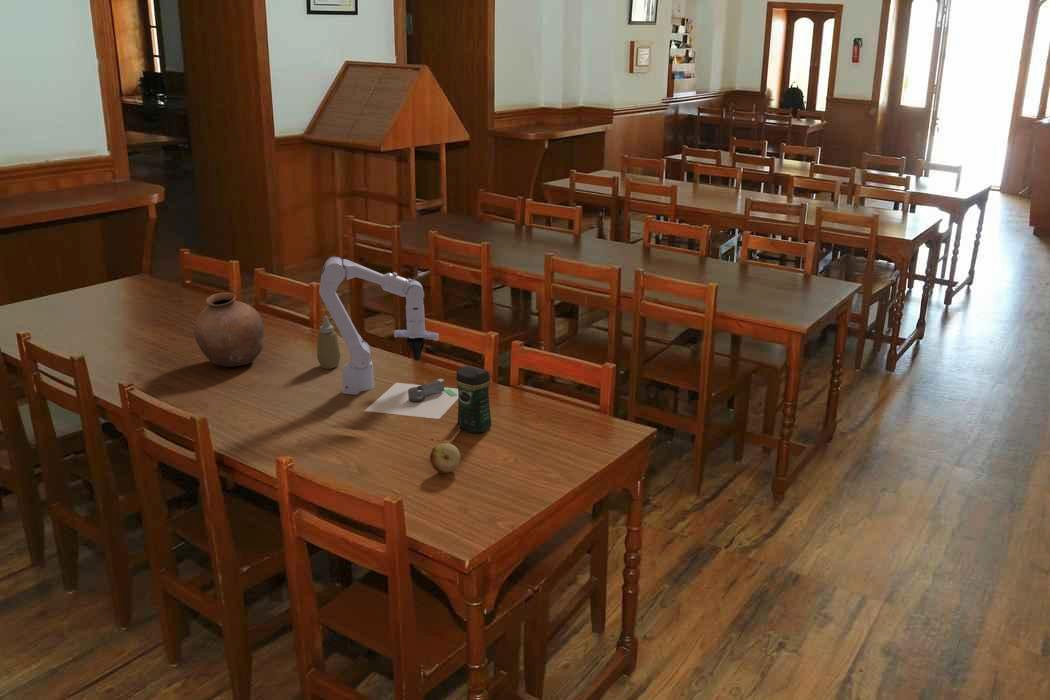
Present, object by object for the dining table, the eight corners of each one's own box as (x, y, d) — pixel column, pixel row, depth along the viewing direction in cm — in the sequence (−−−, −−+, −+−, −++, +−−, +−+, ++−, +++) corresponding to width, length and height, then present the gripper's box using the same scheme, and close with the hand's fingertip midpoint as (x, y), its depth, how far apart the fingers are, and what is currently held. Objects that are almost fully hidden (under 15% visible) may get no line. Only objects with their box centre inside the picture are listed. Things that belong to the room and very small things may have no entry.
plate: (364, 415, 287) (364, 410, 286) (396, 386, 309) (396, 382, 308) (439, 423, 281) (439, 418, 280) (466, 394, 302) (466, 389, 302)
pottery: (264, 349, 345) (257, 282, 336) (269, 370, 324) (261, 300, 316) (198, 356, 338) (189, 289, 330) (199, 379, 317) (189, 307, 309)
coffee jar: (496, 427, 278) (494, 367, 271) (477, 436, 272) (475, 375, 266) (471, 419, 283) (469, 360, 277) (453, 427, 278) (450, 368, 272)
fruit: (426, 476, 248) (424, 448, 246) (439, 463, 256) (438, 436, 253) (452, 481, 246) (451, 452, 243) (465, 467, 253) (464, 440, 251)
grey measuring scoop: (414, 403, 291) (413, 391, 289) (405, 398, 294) (404, 386, 293) (447, 393, 298) (447, 381, 297) (438, 388, 302) (437, 377, 301)
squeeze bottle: (313, 368, 325) (308, 318, 319) (326, 361, 332) (322, 312, 326) (333, 371, 322) (329, 321, 316) (346, 364, 329) (342, 314, 323)
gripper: (389, 321, 299) (391, 361, 304) (432, 324, 295) (434, 365, 300) (398, 314, 306) (400, 354, 310) (440, 318, 302) (442, 358, 306)
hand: (417, 359), depth 305 cm, fingers closed
